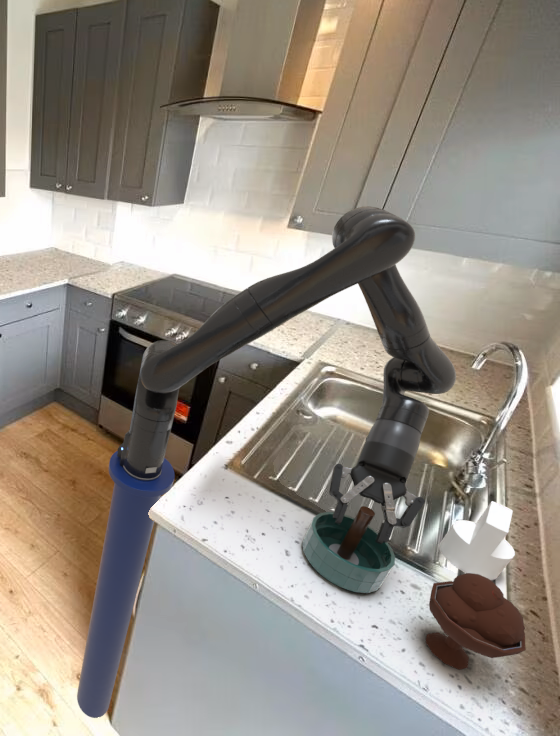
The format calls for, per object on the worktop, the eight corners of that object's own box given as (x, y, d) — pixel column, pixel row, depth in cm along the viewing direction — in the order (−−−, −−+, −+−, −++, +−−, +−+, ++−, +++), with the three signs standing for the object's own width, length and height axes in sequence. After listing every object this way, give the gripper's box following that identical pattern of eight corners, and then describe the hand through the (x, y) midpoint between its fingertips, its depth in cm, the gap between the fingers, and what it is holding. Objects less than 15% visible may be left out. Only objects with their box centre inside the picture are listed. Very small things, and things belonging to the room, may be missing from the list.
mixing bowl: (294, 565, 81) (306, 541, 78) (308, 524, 91) (318, 501, 88) (377, 610, 74) (393, 586, 71) (382, 560, 84) (396, 537, 81)
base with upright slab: (443, 533, 91) (471, 491, 85) (500, 563, 85) (535, 519, 79) (434, 556, 85) (464, 512, 80) (494, 589, 79) (531, 544, 74)
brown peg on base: (324, 560, 82) (349, 511, 76) (328, 544, 85) (353, 496, 79) (354, 576, 79) (383, 526, 73) (357, 559, 83) (385, 510, 77)
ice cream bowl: (401, 650, 68) (445, 589, 62) (411, 604, 76) (452, 545, 69) (490, 707, 62) (550, 646, 55) (491, 651, 69) (545, 591, 62)
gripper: (348, 427, 81) (315, 509, 78) (445, 463, 73) (413, 556, 70) (342, 437, 87) (311, 514, 84) (431, 471, 79) (400, 557, 76)
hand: (357, 532), depth 77 cm, fingers open, 5 cm apart
